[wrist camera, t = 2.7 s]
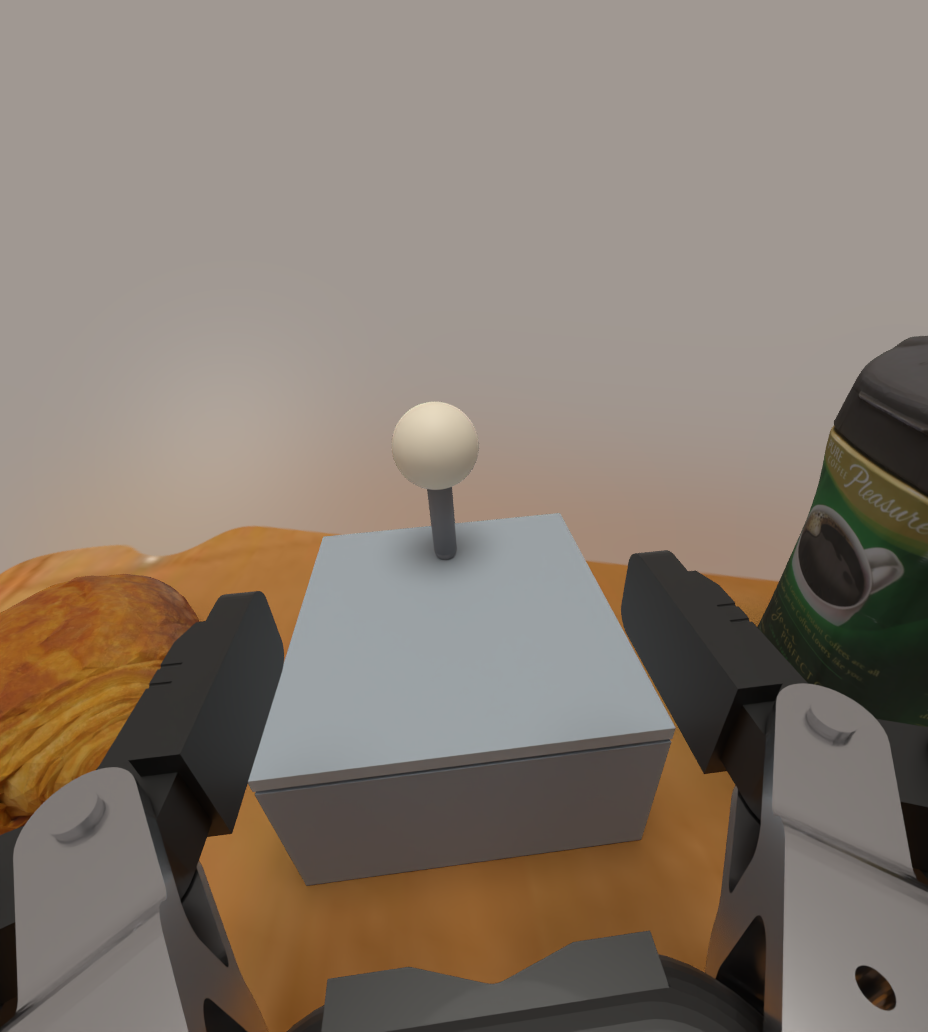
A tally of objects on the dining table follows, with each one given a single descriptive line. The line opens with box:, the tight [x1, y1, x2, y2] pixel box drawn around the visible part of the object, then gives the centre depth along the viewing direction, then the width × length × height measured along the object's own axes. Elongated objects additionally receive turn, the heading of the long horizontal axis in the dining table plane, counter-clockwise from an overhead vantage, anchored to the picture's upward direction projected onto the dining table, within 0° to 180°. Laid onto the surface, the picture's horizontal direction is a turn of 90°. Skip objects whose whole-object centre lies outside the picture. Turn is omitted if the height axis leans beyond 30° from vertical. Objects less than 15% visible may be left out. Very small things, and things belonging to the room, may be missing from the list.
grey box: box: [255, 739, 671, 886], centre depth 23 cm, size 14×14×7 cm
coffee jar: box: [757, 336, 928, 727], centre depth 17 cm, size 10×8×19 cm
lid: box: [248, 402, 675, 792], centre depth 19 cm, size 14×14×9 cm
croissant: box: [0, 574, 199, 835], centre depth 25 cm, size 14×16×8 cm
